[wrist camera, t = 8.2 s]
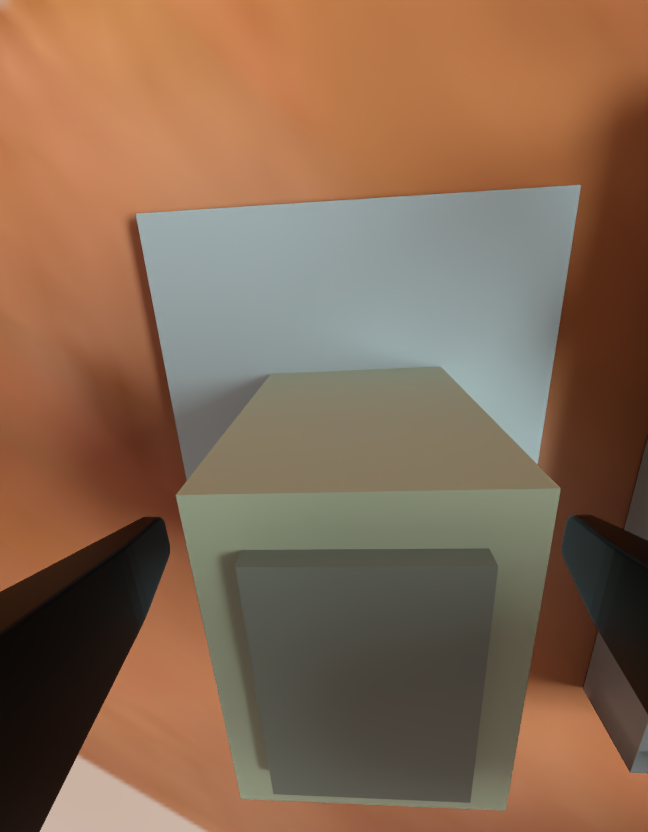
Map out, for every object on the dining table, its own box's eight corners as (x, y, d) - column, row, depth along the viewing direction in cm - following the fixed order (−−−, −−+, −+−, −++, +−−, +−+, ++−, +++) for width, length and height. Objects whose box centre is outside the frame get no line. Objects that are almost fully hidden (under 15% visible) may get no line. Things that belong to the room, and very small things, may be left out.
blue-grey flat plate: (503, 646, 14) (507, 656, 13) (222, 640, 14) (218, 650, 14) (571, 188, 9) (580, 184, 8) (143, 215, 9) (135, 213, 9)
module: (432, 557, 12) (512, 835, 6) (290, 558, 12) (236, 822, 6) (441, 366, 10) (575, 504, 4) (271, 373, 10) (164, 509, 4)
